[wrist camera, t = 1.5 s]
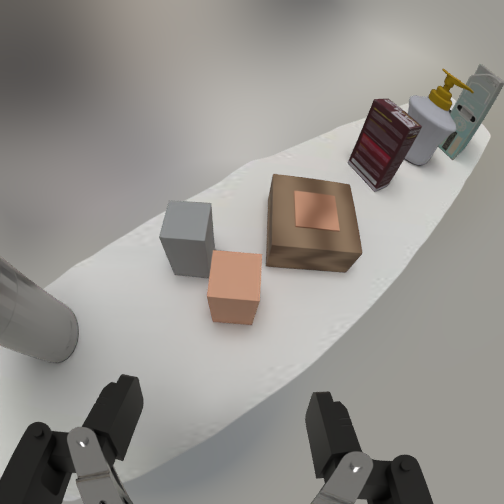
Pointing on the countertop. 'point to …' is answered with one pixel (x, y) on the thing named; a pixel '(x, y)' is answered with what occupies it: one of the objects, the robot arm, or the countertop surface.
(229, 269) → the terracotta pillar
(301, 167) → the countertop surface
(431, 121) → the soap bottle
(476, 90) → the device
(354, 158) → the supplement box
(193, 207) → the slate-grey pillar
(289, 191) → the walnut base block
